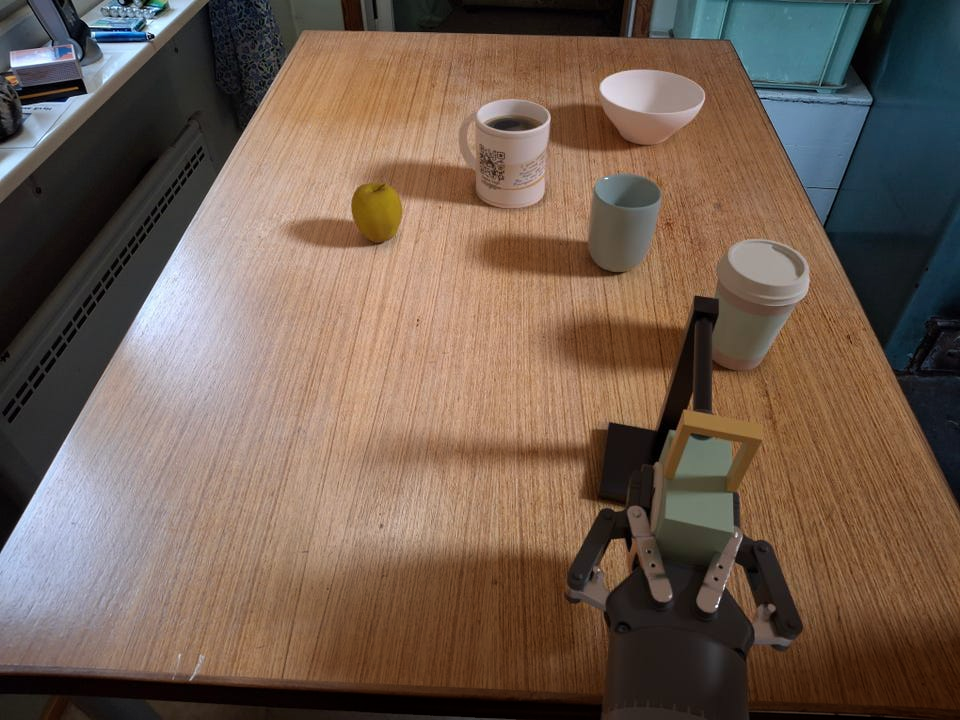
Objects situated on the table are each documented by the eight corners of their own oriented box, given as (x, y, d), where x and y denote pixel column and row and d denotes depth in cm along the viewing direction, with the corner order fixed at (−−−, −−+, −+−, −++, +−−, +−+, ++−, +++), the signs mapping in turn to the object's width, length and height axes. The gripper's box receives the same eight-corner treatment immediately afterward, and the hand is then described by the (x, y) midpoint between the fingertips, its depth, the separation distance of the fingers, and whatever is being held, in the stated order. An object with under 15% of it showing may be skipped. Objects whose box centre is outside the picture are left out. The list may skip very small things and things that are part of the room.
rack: (714, 449, 63) (776, 296, 50) (714, 587, 53) (791, 442, 40) (607, 429, 65) (640, 276, 52) (588, 559, 55) (623, 411, 42)
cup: (578, 244, 86) (587, 174, 79) (637, 241, 86) (652, 171, 79) (590, 282, 80) (601, 210, 73) (654, 279, 81) (671, 207, 74)
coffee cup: (772, 389, 68) (814, 298, 60) (687, 368, 70) (716, 277, 62) (778, 336, 74) (816, 245, 65) (699, 317, 76) (726, 227, 68)
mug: (484, 215, 91) (484, 138, 83) (457, 172, 99) (455, 98, 91) (555, 201, 93) (562, 125, 85) (524, 160, 101) (527, 87, 93)
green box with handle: (696, 524, 51) (759, 387, 40) (695, 610, 46) (766, 481, 35) (635, 510, 52) (681, 373, 41) (627, 594, 47) (677, 463, 36)
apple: (412, 244, 86) (407, 189, 80) (363, 256, 84) (355, 200, 79) (396, 219, 90) (391, 164, 84) (350, 229, 88) (341, 174, 83)
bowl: (575, 140, 106) (580, 96, 101) (619, 103, 115) (625, 61, 110) (671, 169, 100) (681, 123, 95) (709, 127, 109) (720, 84, 104)
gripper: (847, 759, 31) (809, 465, 43) (541, 682, 33) (585, 424, 45) (793, 800, 36) (773, 528, 48) (532, 731, 39) (574, 489, 51)
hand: (682, 479), depth 47 cm, fingers closed on green box with handle, 4 cm apart
